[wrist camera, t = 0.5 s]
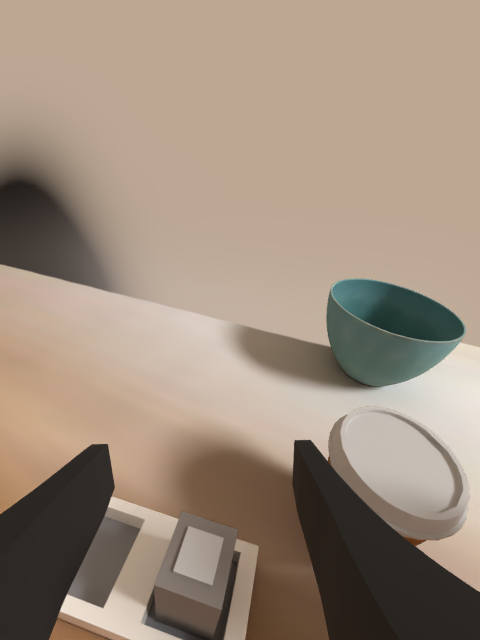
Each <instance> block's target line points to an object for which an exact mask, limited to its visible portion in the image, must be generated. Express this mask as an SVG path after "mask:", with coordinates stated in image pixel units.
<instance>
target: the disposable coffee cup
mask: <svg viewBox="0 0 480 640" xmlns="http://www.w3.org/2000/svg"><path fill="white" fill-rule="evenodd" d="M328 462H329V463H330V465H331V466H332V467H333V468H334V469H335V471H336V472H337V473H338V474H339V475H340V476H341V477H342V479H343V480H344V481H345V482H346V483H347V484H348V485H349V486H350V487H351V488H352V490H353V491H354V492H355V493H356V494H357V495H358V496H359V497H360V498H361V499H362V500H363V501H364V502H365V503H366V504H367V505H368V506H369V507H370V508H371V509H372V510H373V511H374V512H375V513H376V514H377V515H379V516H380V517H381V518H382V519H383V520H384V521H385V522H386V523H387V524H389V525H390V526H391V527H392V528H393V529H394V530H395V531H397V532H398V533H399V534H400V535H402V536H403V537H404V538H405V539H406V540H408V541H409V542H410V543H412V544H413V545H414V546H417V545H419V544H421V543H422V542H424V541H426V540H440V539H443V538H446V537H449V536H452V535H454V534H455V533H456V532H457V531H459V530H460V529H461V528H462V526H463V524H464V523H465V521H466V518H467V511H468V501H469V498H470V495H469V483H468V480H467V476H466V474H465V472H464V469H463V467H462V466H461V464H460V462H459V461H458V459H457V457H456V456H455V455H454V453H453V452H452V451H451V450H450V448H449V447H448V446H447V445H446V444H445V443H444V442H443V441H442V440H441V439H440V438H439V437H438V436H437V435H436V434H434V433H433V432H432V431H431V430H429V429H428V428H427V427H425V426H424V425H422V424H421V423H419V422H418V421H416V420H414V419H413V418H410V417H408V416H406V415H404V414H402V413H400V412H397V411H395V410H391V409H388V408H383V407H361V408H358V409H355V410H353V411H352V412H350V413H349V414H347V415H345V416H343V417H342V418H340V419H339V420H338V421H337V422H336V423H335V424H334V426H333V428H332V430H331V432H330V436H329V457H328Z"/></svg>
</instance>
